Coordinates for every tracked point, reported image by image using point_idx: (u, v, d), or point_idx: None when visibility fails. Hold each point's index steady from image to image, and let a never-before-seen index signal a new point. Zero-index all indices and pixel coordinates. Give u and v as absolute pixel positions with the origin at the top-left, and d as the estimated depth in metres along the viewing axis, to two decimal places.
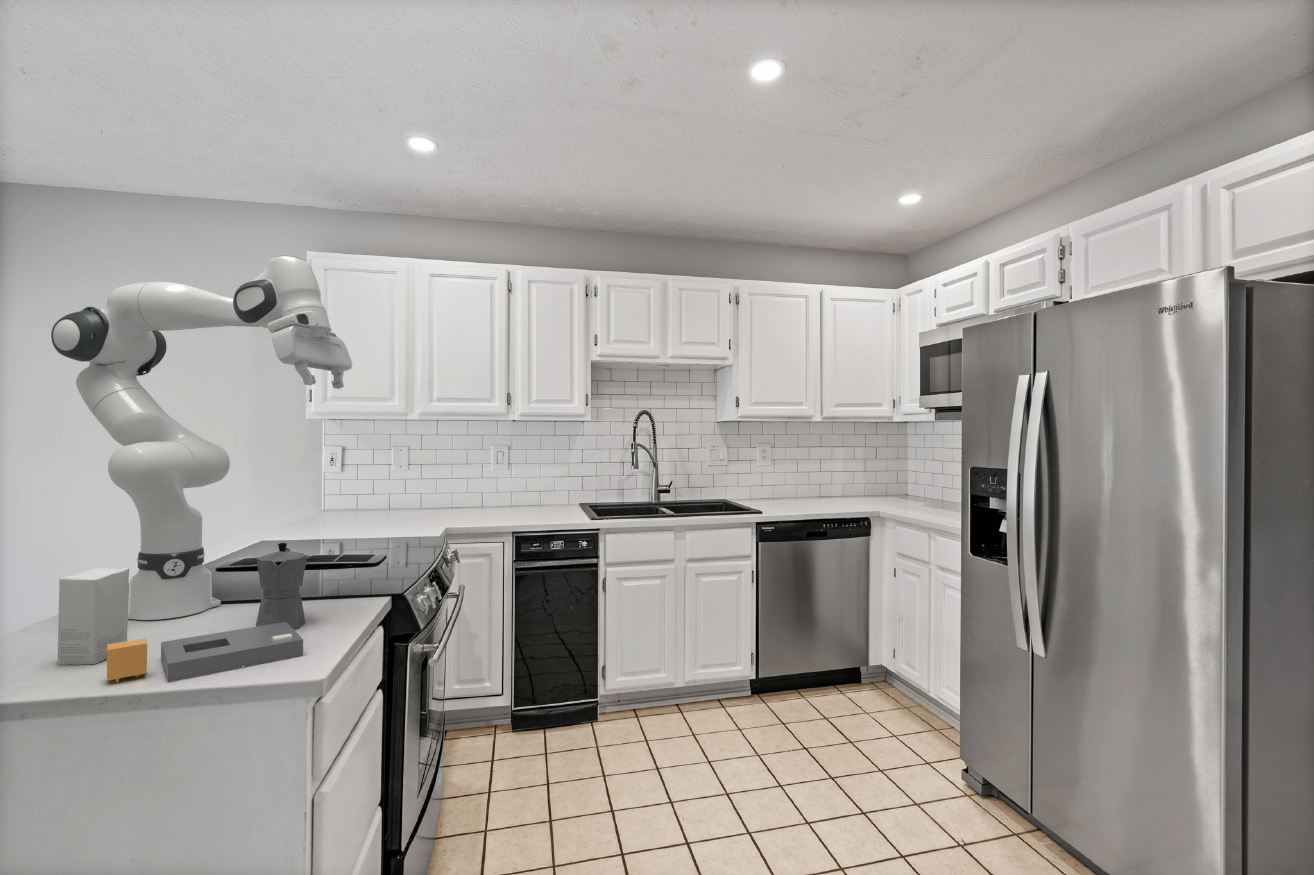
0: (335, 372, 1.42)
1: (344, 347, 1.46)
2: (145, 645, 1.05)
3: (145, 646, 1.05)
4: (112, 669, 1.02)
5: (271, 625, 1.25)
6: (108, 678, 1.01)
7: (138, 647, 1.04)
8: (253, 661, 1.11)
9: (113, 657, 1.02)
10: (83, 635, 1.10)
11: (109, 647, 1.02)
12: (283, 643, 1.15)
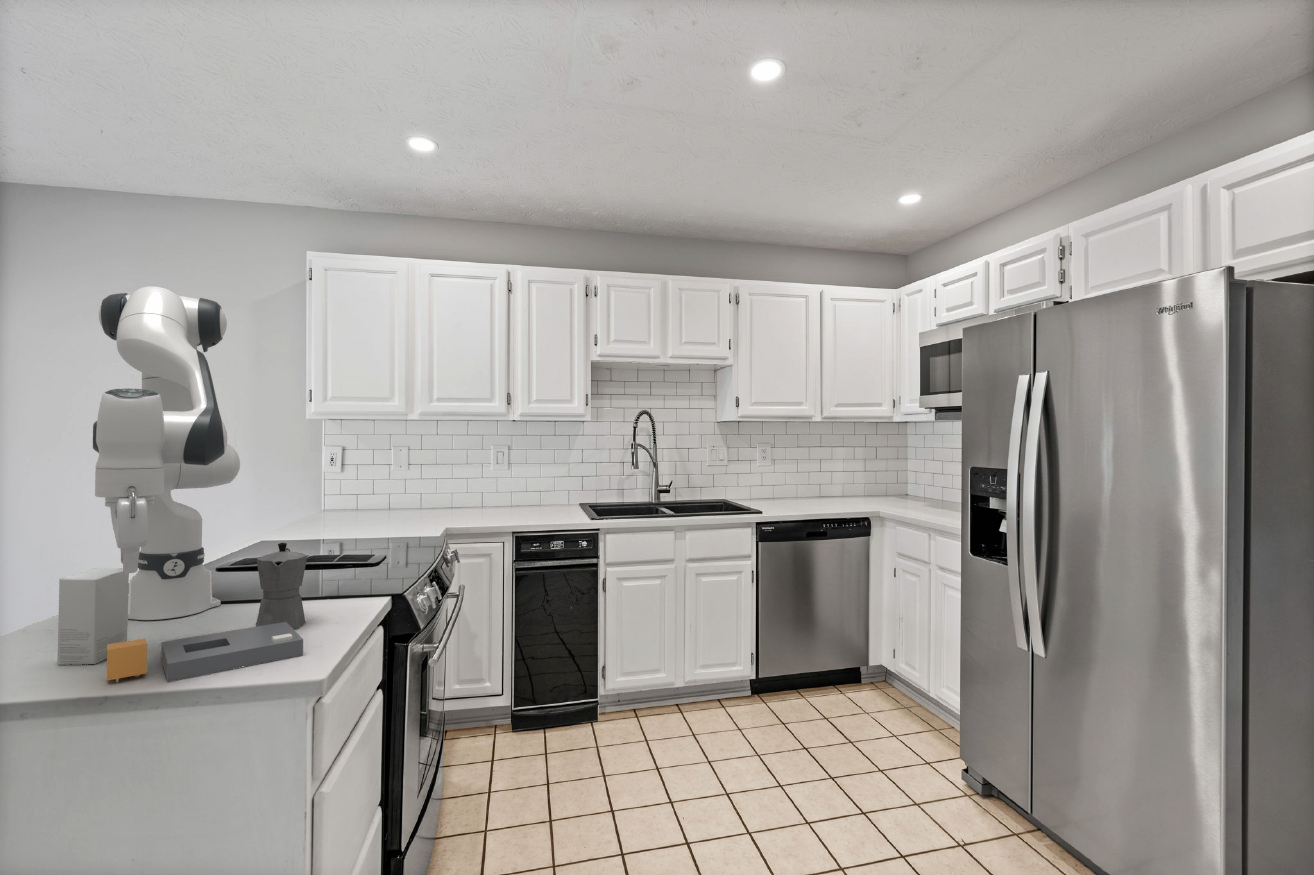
0: None
1: (117, 515, 0.97)
2: (145, 645, 1.05)
3: (145, 646, 1.05)
4: (112, 669, 1.02)
5: (271, 625, 1.25)
6: (108, 678, 1.01)
7: (138, 647, 1.04)
8: (253, 661, 1.11)
9: (113, 657, 1.02)
10: (83, 635, 1.10)
11: (109, 647, 1.02)
12: (283, 643, 1.15)
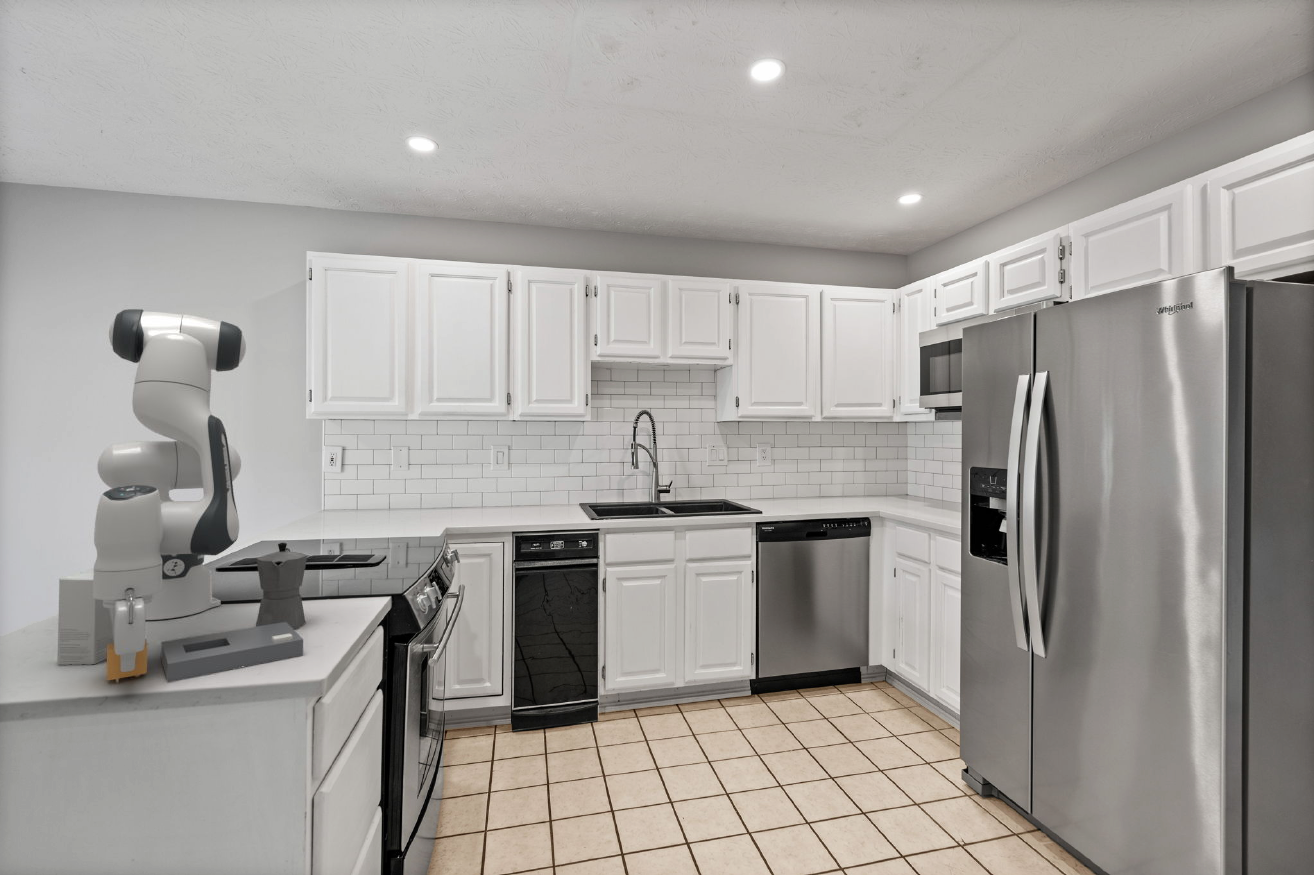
0: None
1: (115, 621, 0.97)
2: (145, 645, 1.05)
3: (145, 646, 1.05)
4: (112, 669, 1.02)
5: (271, 625, 1.25)
6: (108, 678, 1.01)
7: None
8: (253, 661, 1.11)
9: (112, 657, 1.02)
10: (83, 635, 1.10)
11: (109, 647, 1.02)
12: (283, 643, 1.15)
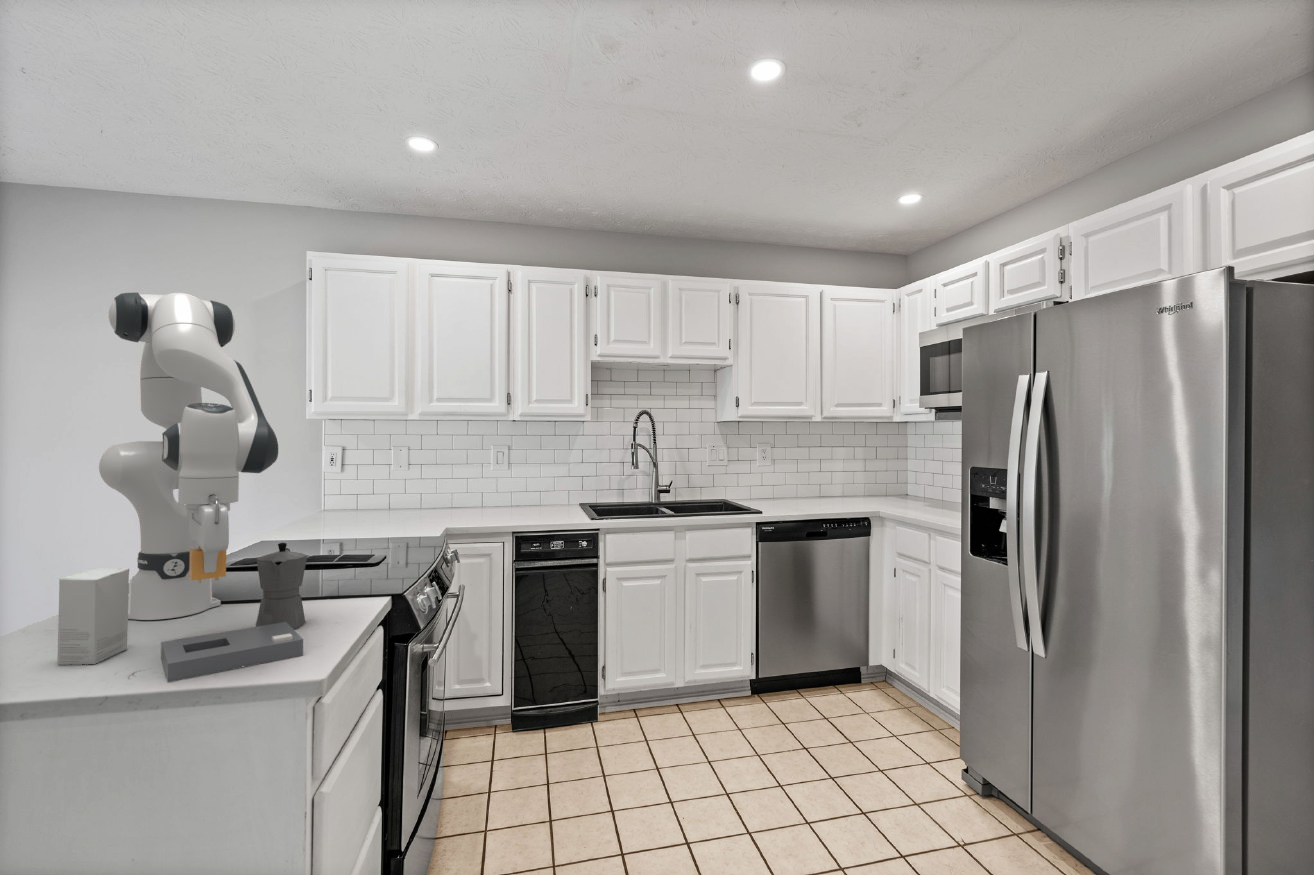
0: None
1: (202, 521, 1.05)
2: (224, 550, 1.13)
3: (224, 551, 1.13)
4: (196, 570, 1.10)
5: (271, 625, 1.25)
6: (192, 578, 1.09)
7: None
8: (253, 661, 1.11)
9: (196, 559, 1.10)
10: (83, 635, 1.10)
11: (192, 550, 1.10)
12: (283, 643, 1.15)
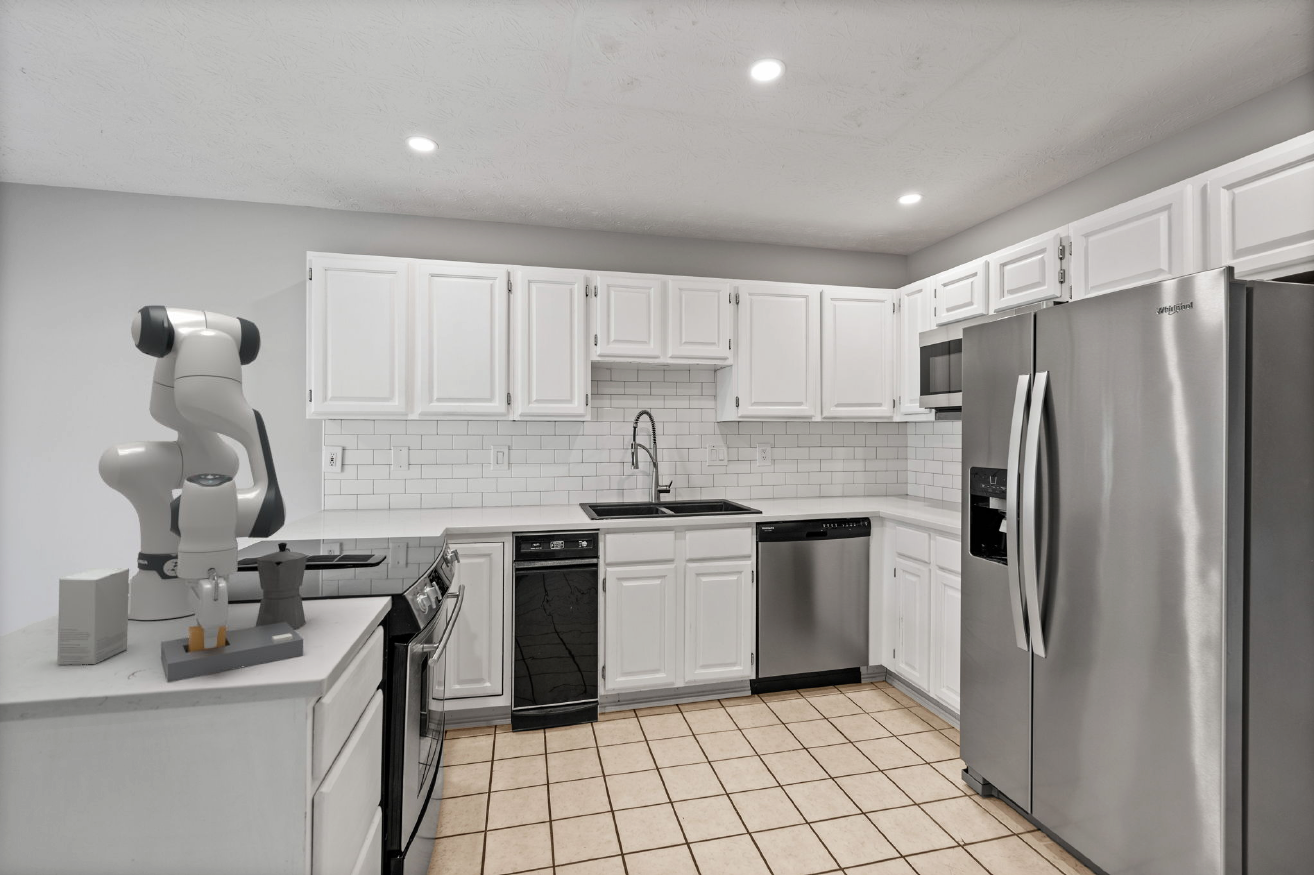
0: None
1: (201, 598, 1.05)
2: (224, 628, 1.13)
3: (224, 629, 1.13)
4: (195, 650, 1.10)
5: (271, 625, 1.25)
6: None
7: None
8: (253, 661, 1.11)
9: (196, 639, 1.10)
10: (83, 635, 1.10)
11: (192, 630, 1.11)
12: (283, 643, 1.15)
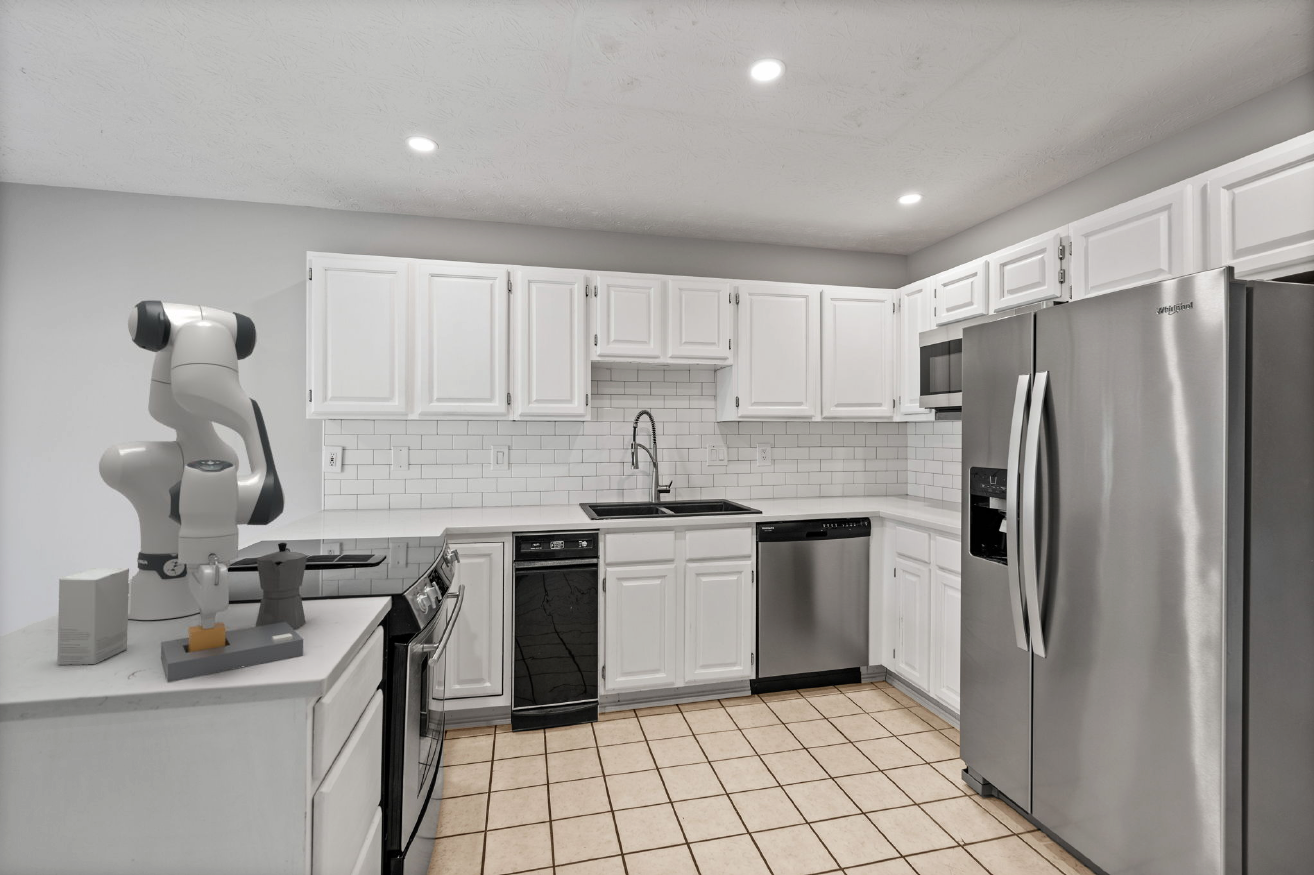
0: None
1: (202, 583, 1.05)
2: (224, 628, 1.13)
3: (224, 629, 1.13)
4: (195, 650, 1.10)
5: (271, 625, 1.25)
6: None
7: (218, 630, 1.12)
8: (253, 661, 1.11)
9: (195, 639, 1.10)
10: (83, 635, 1.10)
11: (192, 630, 1.11)
12: (283, 643, 1.15)
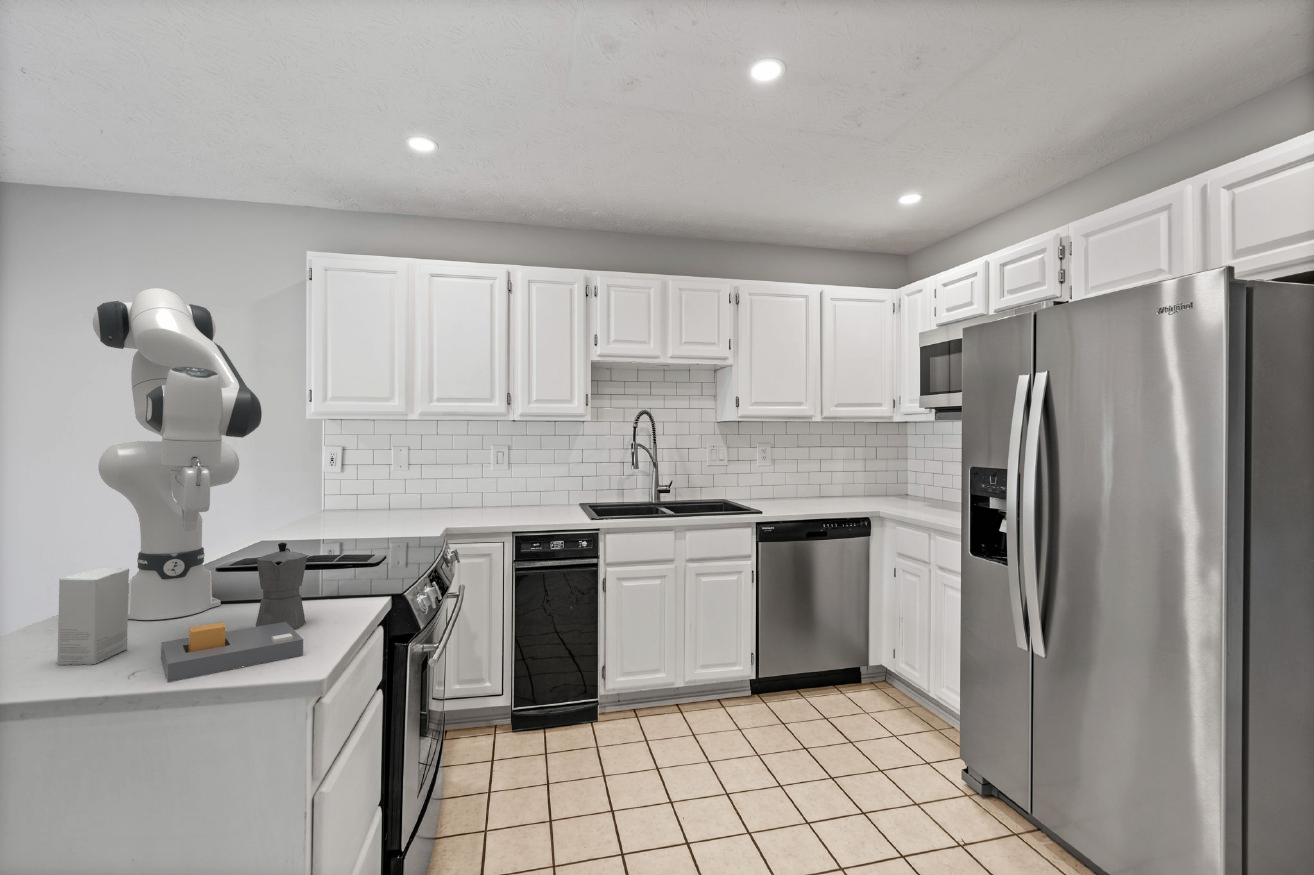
0: None
1: (184, 483, 1.08)
2: (223, 628, 1.13)
3: (223, 629, 1.13)
4: (195, 649, 1.10)
5: (271, 625, 1.25)
6: None
7: (218, 630, 1.12)
8: (253, 661, 1.11)
9: (195, 639, 1.10)
10: (83, 635, 1.10)
11: (192, 630, 1.11)
12: (283, 643, 1.15)
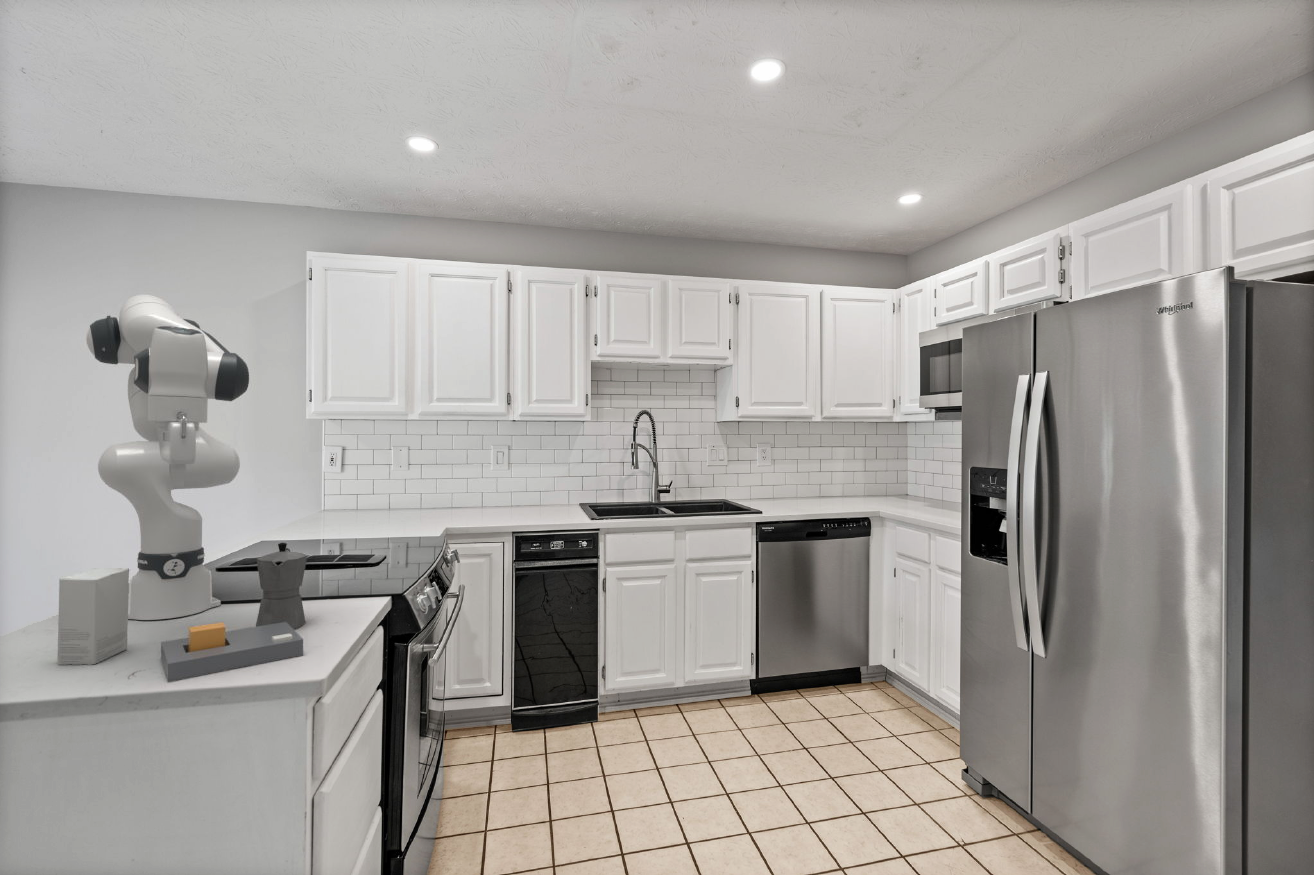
0: None
1: (169, 435, 1.09)
2: (223, 628, 1.13)
3: (223, 629, 1.13)
4: (195, 649, 1.10)
5: (271, 625, 1.25)
6: None
7: (218, 630, 1.12)
8: (253, 661, 1.11)
9: (195, 639, 1.10)
10: (83, 635, 1.10)
11: (192, 630, 1.11)
12: (283, 643, 1.15)
